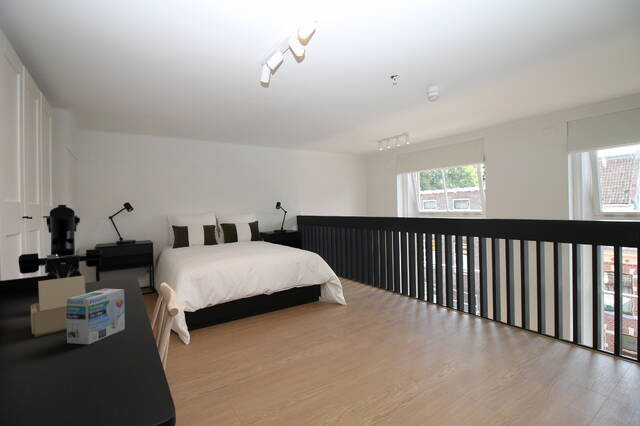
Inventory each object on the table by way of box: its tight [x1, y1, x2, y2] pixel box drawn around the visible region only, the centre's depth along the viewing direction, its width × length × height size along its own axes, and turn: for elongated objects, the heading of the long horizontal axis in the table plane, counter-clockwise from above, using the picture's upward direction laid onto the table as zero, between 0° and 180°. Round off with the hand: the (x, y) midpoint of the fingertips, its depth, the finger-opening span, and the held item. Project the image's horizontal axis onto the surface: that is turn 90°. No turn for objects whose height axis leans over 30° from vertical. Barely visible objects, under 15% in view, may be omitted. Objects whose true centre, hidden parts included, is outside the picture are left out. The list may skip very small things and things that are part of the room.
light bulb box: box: [66, 288, 126, 345], centre depth 77 cm, size 11×7×11 cm, turn 168°
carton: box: [30, 302, 67, 338], centre depth 86 cm, size 13×12×6 cm
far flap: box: [37, 275, 87, 311], centre depth 83 cm, size 8×10×1 cm
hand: (63, 283), depth 86 cm, fingers closed
